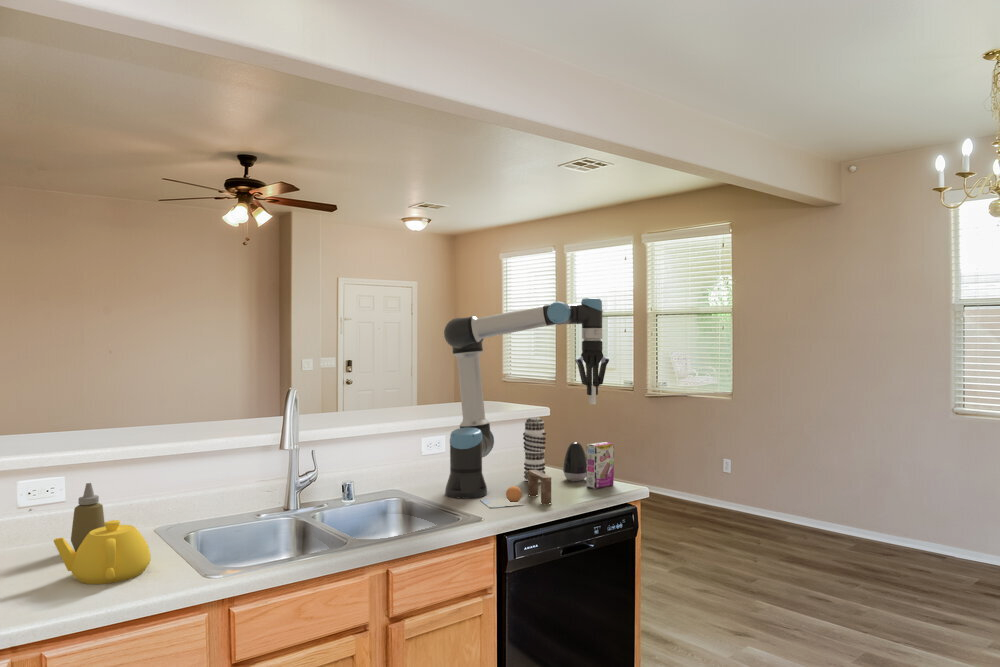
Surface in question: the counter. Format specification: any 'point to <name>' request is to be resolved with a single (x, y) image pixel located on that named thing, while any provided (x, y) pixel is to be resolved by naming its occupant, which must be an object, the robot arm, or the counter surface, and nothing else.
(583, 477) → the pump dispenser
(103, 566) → the teapot
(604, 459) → the candy bar box
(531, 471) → the bridge
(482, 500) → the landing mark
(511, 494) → the ball
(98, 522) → the squeeze bottle
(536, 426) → the decorative candle
